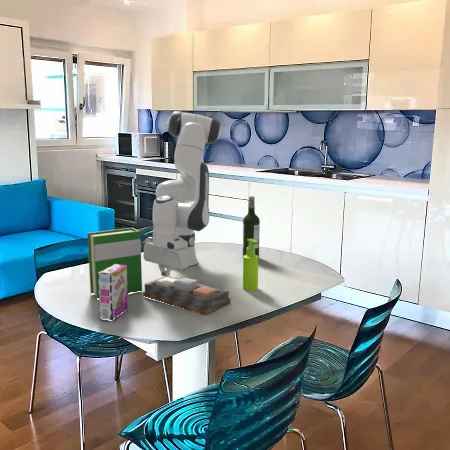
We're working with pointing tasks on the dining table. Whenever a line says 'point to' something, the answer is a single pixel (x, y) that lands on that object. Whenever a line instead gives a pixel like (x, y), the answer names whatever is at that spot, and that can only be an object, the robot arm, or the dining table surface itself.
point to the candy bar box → (113, 291)
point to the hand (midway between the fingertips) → (165, 276)
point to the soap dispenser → (250, 268)
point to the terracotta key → (205, 291)
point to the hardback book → (115, 256)
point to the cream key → (166, 282)
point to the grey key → (185, 284)
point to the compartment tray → (187, 298)
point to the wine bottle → (251, 227)
